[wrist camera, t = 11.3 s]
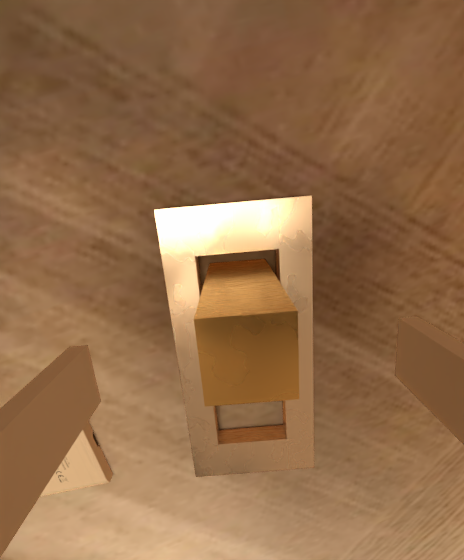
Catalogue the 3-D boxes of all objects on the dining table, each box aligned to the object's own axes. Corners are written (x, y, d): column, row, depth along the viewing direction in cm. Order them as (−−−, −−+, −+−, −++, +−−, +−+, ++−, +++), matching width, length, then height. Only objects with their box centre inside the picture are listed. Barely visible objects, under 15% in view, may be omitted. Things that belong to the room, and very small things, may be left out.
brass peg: (267, 310, 22) (299, 399, 12) (215, 314, 22) (204, 406, 12) (264, 258, 20) (297, 310, 11) (209, 263, 20) (193, 319, 11)
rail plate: (309, 452, 25) (314, 467, 24) (197, 461, 25) (196, 476, 24) (305, 195, 19) (311, 195, 18) (159, 209, 19) (154, 209, 18)
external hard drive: (-52, 425, 25) (82, 396, 24) (-9, 493, 27) (115, 469, 26) (-71, 440, 23) (72, 410, 22) (-23, 512, 25) (108, 486, 25)
